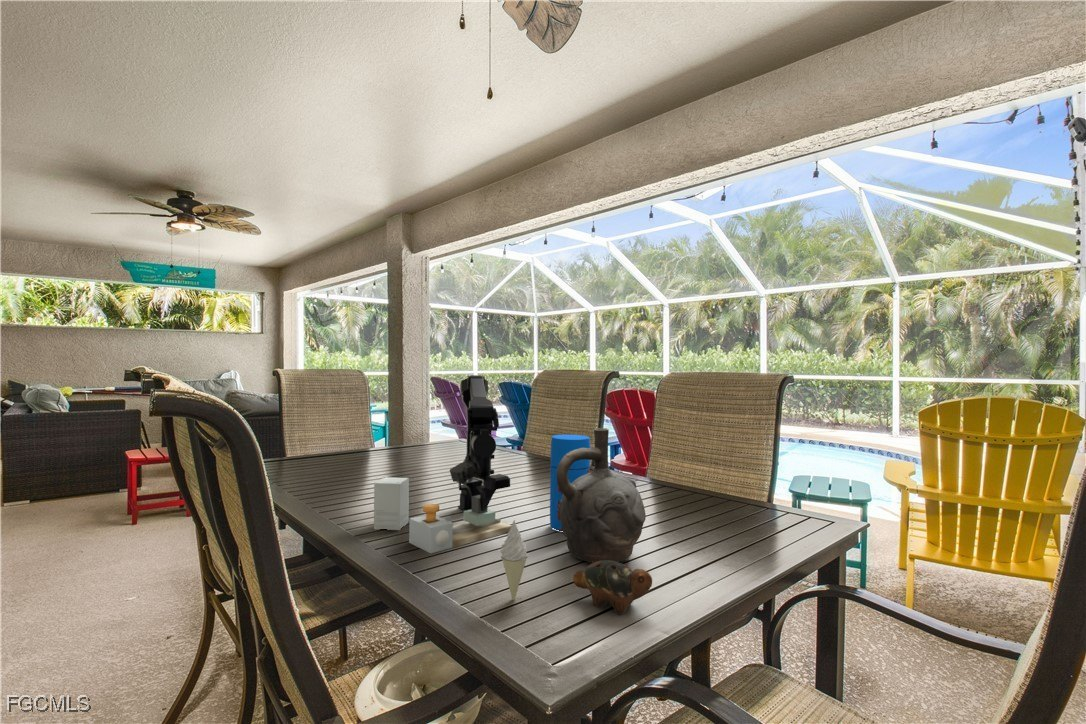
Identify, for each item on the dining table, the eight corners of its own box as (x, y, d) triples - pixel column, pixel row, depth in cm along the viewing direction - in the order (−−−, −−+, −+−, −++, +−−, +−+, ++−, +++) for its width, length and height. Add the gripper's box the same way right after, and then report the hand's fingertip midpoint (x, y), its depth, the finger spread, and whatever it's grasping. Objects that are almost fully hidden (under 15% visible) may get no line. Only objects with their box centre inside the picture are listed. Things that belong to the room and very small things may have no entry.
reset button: (433, 519, 129) (433, 503, 129) (442, 522, 126) (442, 506, 126) (419, 522, 126) (419, 506, 126) (428, 526, 123) (428, 509, 123)
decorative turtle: (646, 626, 88) (647, 579, 88) (564, 608, 94) (564, 564, 94) (657, 602, 97) (657, 560, 97) (581, 587, 103) (581, 547, 103)
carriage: (481, 516, 140) (481, 492, 141) (495, 521, 136) (495, 496, 136) (463, 520, 136) (463, 496, 136) (476, 525, 132) (477, 500, 132)
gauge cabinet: (430, 537, 132) (430, 513, 132) (452, 547, 124) (453, 523, 124) (409, 542, 127) (409, 518, 127) (431, 553, 120) (431, 528, 120)
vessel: (616, 588, 103) (618, 438, 103) (529, 563, 115) (531, 429, 116) (663, 553, 123) (664, 428, 123) (584, 535, 135) (586, 421, 136)
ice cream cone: (500, 593, 99) (501, 516, 100) (526, 593, 100) (527, 516, 100) (500, 605, 94) (501, 524, 95) (527, 605, 95) (528, 523, 95)
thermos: (543, 530, 139) (545, 438, 139) (557, 519, 148) (559, 433, 149) (582, 536, 134) (583, 440, 135) (593, 524, 144) (595, 436, 145)
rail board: (488, 522, 145) (489, 513, 145) (511, 531, 138) (512, 521, 138) (430, 537, 132) (430, 526, 132) (452, 547, 124) (452, 536, 124)
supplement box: (409, 522, 144) (410, 477, 144) (399, 531, 136) (400, 483, 136) (383, 521, 144) (384, 476, 144) (372, 529, 137) (373, 482, 137)
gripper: (435, 449, 137) (434, 507, 137) (477, 459, 124) (476, 523, 124) (469, 445, 145) (468, 500, 145) (512, 454, 132) (511, 515, 132)
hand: (479, 509), depth 136 cm, fingers closed on carriage, 3 cm apart
